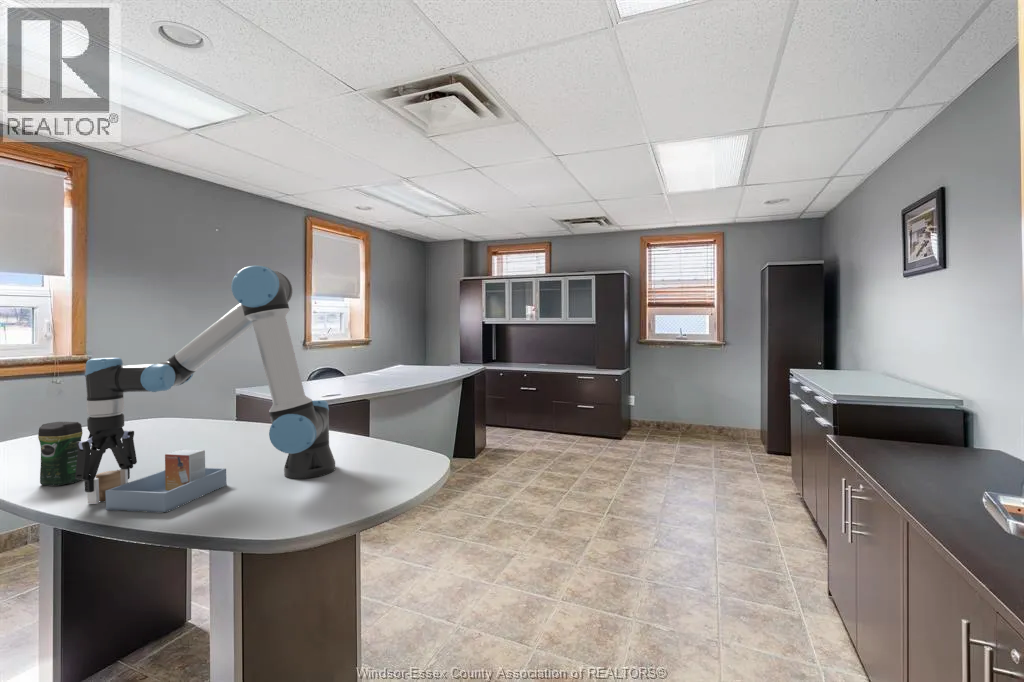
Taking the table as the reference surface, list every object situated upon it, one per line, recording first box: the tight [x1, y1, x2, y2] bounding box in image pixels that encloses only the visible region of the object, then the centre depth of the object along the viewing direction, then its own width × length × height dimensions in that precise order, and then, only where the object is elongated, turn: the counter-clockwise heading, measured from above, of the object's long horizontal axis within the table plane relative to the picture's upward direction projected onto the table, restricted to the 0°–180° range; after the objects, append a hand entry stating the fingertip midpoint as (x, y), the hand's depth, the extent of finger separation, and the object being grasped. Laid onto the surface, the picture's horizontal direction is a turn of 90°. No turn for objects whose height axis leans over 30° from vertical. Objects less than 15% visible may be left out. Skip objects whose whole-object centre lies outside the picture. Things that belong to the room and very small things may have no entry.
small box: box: [164, 448, 206, 490], centre depth 130 cm, size 8×6×10 cm
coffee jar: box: [37, 421, 83, 487], centre depth 137 cm, size 10×8×19 cm
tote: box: [105, 467, 228, 513], centre depth 125 cm, size 17×20×5 cm
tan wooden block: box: [95, 469, 121, 501], centre depth 124 cm, size 5×5×7 cm
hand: (108, 497), depth 124 cm, fingers open, 7 cm apart
